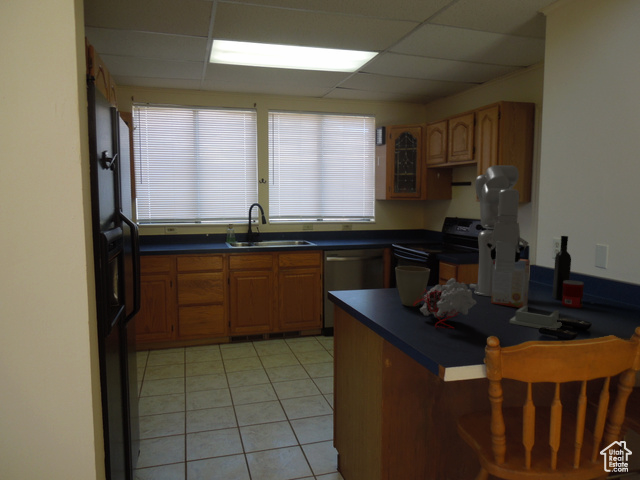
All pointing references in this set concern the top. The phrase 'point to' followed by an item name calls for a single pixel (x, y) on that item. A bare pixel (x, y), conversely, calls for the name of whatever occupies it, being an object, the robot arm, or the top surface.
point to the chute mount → (535, 319)
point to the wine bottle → (561, 269)
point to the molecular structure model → (447, 300)
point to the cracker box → (511, 285)
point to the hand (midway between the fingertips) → (504, 260)
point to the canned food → (572, 294)
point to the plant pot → (411, 283)
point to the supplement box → (505, 257)
